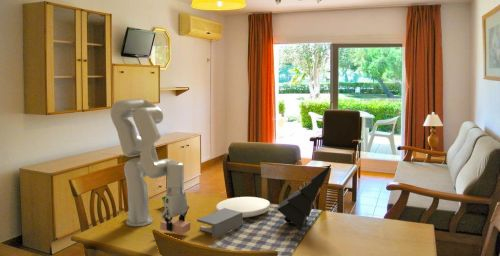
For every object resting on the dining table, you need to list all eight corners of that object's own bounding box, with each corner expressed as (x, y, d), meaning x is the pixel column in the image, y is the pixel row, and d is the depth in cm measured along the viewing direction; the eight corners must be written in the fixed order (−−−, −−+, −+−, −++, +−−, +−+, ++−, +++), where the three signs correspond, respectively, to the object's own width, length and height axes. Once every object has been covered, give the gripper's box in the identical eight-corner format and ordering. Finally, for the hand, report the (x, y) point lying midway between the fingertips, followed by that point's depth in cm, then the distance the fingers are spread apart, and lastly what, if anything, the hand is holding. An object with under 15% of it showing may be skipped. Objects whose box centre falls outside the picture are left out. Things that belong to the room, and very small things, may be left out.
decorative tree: (297, 236, 196) (343, 178, 186) (271, 216, 198) (315, 158, 188) (302, 224, 210) (345, 170, 200) (278, 206, 212) (319, 151, 202)
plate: (210, 211, 208) (219, 195, 234) (212, 224, 209) (221, 207, 235) (267, 206, 205) (270, 191, 231) (269, 219, 206) (271, 202, 232)
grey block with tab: (194, 232, 194) (193, 218, 193) (221, 220, 209) (221, 207, 208) (215, 238, 186) (215, 224, 185) (242, 225, 201) (242, 212, 200)
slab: (160, 229, 192) (160, 221, 191) (168, 224, 197) (168, 217, 196) (182, 234, 187) (182, 226, 186) (190, 229, 192) (190, 222, 191)
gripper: (166, 196, 180) (166, 236, 182) (195, 187, 193) (195, 224, 196) (154, 192, 184) (155, 231, 187) (183, 183, 198) (183, 220, 201)
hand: (175, 227), depth 192 cm, fingers closed on slab, 6 cm apart
